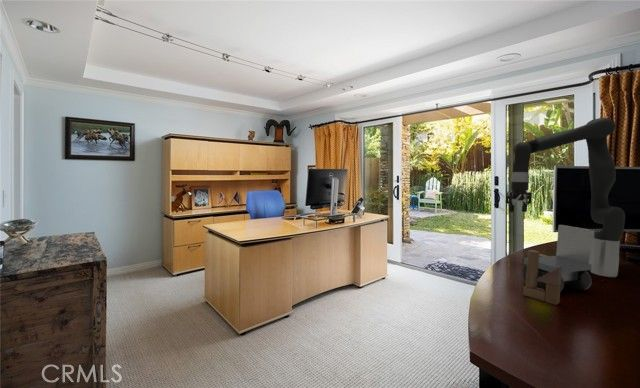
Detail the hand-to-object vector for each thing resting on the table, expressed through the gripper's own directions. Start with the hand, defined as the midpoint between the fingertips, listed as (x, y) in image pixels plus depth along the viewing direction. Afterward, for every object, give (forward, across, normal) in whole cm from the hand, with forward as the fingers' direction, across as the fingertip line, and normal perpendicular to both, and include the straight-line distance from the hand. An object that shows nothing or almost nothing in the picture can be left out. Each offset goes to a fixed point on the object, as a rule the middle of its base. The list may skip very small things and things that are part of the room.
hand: (517, 212), depth 157 cm
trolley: (+28, -12, -30) cm, 43 cm away
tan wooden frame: (+28, -30, -38) cm, 56 cm away
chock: (+28, -4, -18) cm, 34 cm away
